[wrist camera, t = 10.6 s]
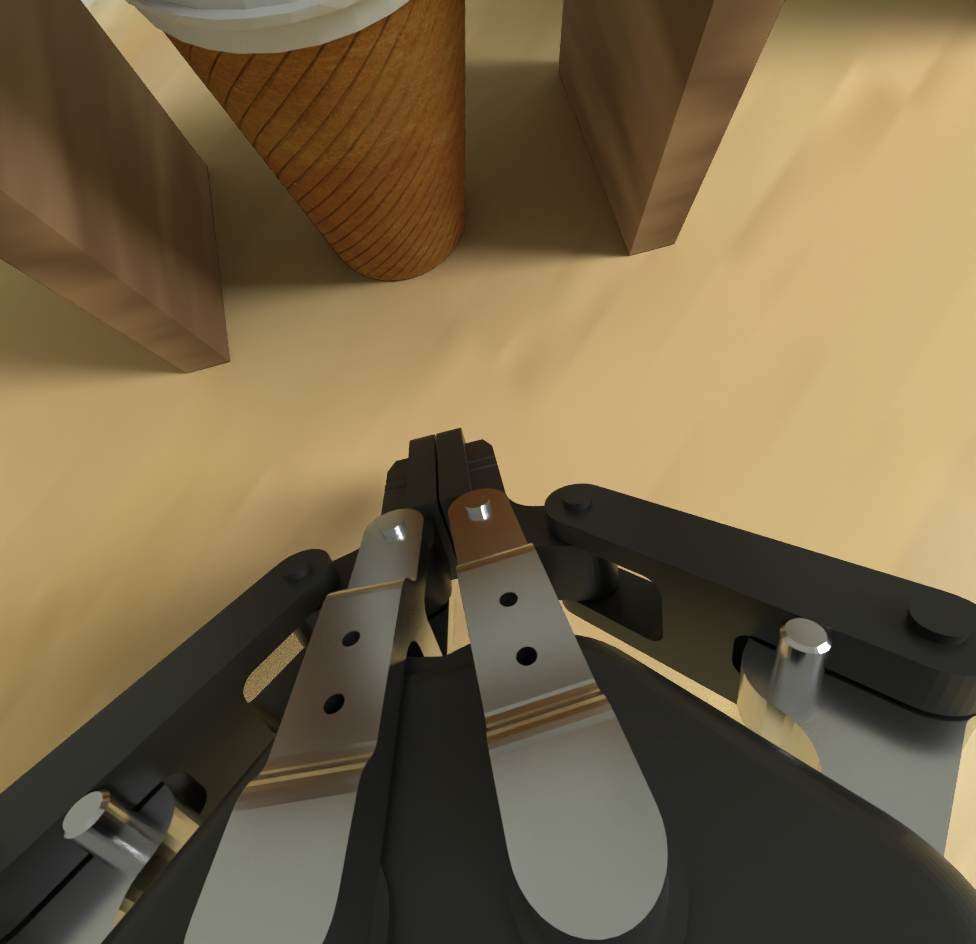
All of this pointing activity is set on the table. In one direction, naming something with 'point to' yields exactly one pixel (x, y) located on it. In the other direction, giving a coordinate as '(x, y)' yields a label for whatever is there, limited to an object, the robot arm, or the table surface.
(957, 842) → the table surface
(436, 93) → the disposable coffee cup
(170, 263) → the wooden bench stand
